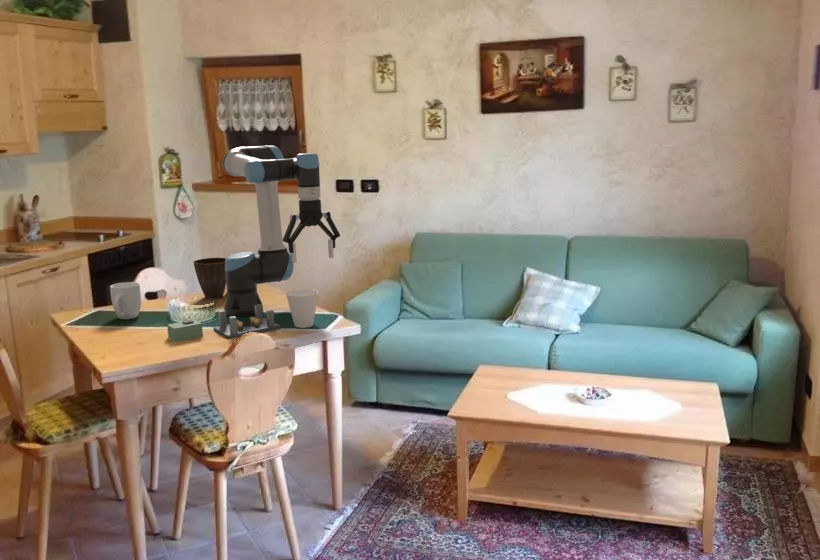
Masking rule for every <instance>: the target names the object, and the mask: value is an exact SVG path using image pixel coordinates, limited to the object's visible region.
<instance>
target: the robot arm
mask: <svg viewBox="0 0 820 560" xmlns="http://www.w3.org/2000/svg"><path fill="white" fill-rule="evenodd" d="M222 157H223V158H222V161H221V162H222V163H221V165H222V168H223V170H224V172H225V173H226V174H227V175H229V176H233V177H238V178H240V177H241V178H242V177H244V178H245V180H246V181H247V182H248V183H251V184H254V186H255V194H256V206H257V213H258V214H257V215H258V225H259V235H260V246H259V248H258V249H257V254H255V252H253V251H242V252H236V253H233V254H231V255H229V256H227V257H225V258H226V260H225V272H226V293H227V294H226V299H225V302H224V306H223V310H224V311H225V312H226V316H229V317H232V316H235V317H247V316H248V317H249V316H255V307H254V305H258V304H260V305H262V312H263V311H264V305H263V302H262V300H261V297H260V295H259V293H258V285H263V284H267V283H270V284H271V283H276V282H279V283H280V282H282V281H287V280H289V279H290V278H291V277H292V275H293V272H294V264H296V263H297V262H298V261H297V248H296V247H297V246H296V245H297V244H296V243H294V242H295V241H296V240H297V239H298V237H299V235H300V234H301V233H302V231H303V230H304V229H305V228H306V227H308V228H310V227H312V226H313V227H317V226H318V227H320V228H321V230H322V231H323V233H325V234H326V235H327V237H329V238H328V239H327V246H328V247H327V249H328V258H330V259H334V249H335V248H336V239H338V238H340V237H341V234H340V232H339V230H338V228H337V227H336V224H335V223H334V221H333V219H332V216H331V215H332V214H331V212H330V211H328V210H325V211H323V212H322V200H321V199H320V198H321V180H320V179H321V178H320V160H319V154H317V153H314V152H312V153H311V152H308V153H307V152H306V153H303V152H302V153H298V154H297V155H296V157H289V158H284V156H283V153H282V151H281V150H280V148H279V147H277V146H275V145H267V144H266V145H255V146H254V145H253V146H252V145H251V146H239V147H238V146H237V147H235V148H231V149H230V150H228V151H226V153H225V154H224V156H222ZM283 181H297V190H298V191H297V192H298V194H297V195H298V196H297V197H298V199H299V201H298V210H299V213H298V214H295V213H294V214H293V213H291V214H290V219H289V222H288V225H287V227H286V229H285V233H284V234H283V231H282V219H281V209H280V197H279V188H278V183H279V182H283ZM322 218H324V219H325V221H326V223H327V224H328V226H329V227H330V229H331V230H330V229H329V228H328V227H327V226H326V225H325V224H324V222H323V221H322ZM298 219H299V220H300V222H299V223H298V226H297V227H296V228H295V226H296V222H297V221H298ZM294 228H295V229H294ZM331 231H332V232H331ZM283 235H284V236H283ZM284 243H285V244H288V247H287V246H286V245H285V244H284Z"/></svg>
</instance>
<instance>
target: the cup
mask: <svg viewBox="0 0 820 560" xmlns="http://www.w3.org/2000/svg"><path fill="white" fill-rule="evenodd" d="M318 294H319V291H318V290H316V289H313V288H312V289H311V288H310V289H309V288H302V289H293V290H290V291H287V292H286V293H285V296H286V300H287V302H288V307H289V310H290V314H291V317H292V320H293V324H294V327H296V328H298V327H299V328H300V329H302V328H303V329H306V328H310V327H313V326H314V322H315V316H316V307H317V302H318ZM299 328H298V329H299Z"/></svg>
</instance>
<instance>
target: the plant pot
mask: <svg viewBox="0 0 820 560" xmlns="http://www.w3.org/2000/svg"><path fill="white" fill-rule="evenodd" d="M226 258H227V257H207V258H199V259H196V260H194V261H193V266H194V267H193V268H194V272H195V274H196V277H197V281H198V284H199V286H200V288H201V291H202V293H203V295H204V297H205V298H206V299H210V298H212V299H219V298H223V297H224V294H225V291H226V288H227V284H226V272H225V260H226Z"/></svg>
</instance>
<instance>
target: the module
mask: <svg viewBox="0 0 820 560" xmlns="http://www.w3.org/2000/svg"><path fill="white" fill-rule="evenodd" d="M166 326H167V327H166V328H167V336H168V339H170V340H172V341H173V342H176V343H179V342H183V341H186V340H191V339H196V338H201V337H204V332H203V331H204V330H203V323H201V322H200V321H198V320H196V319H189V320H184V321H181V322H173V323H168V324H167V325H166Z"/></svg>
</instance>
